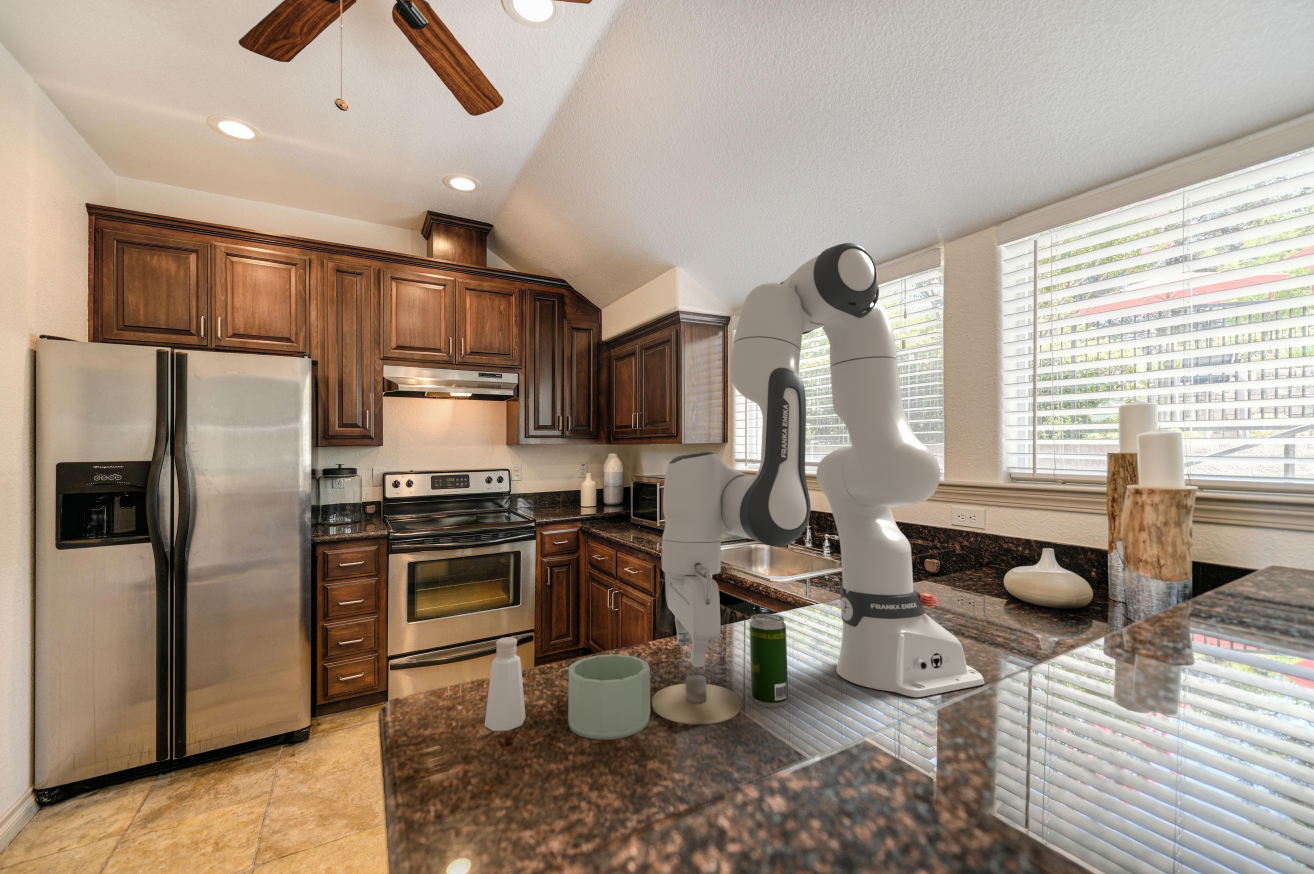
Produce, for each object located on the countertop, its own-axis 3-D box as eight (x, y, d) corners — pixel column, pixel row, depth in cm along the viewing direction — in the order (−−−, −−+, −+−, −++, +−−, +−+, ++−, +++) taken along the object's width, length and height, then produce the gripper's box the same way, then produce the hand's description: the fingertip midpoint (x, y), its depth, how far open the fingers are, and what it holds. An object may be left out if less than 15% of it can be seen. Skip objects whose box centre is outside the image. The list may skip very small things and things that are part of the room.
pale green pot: (643, 700, 78) (642, 652, 78) (655, 735, 67) (654, 678, 68) (568, 706, 76) (568, 657, 77) (568, 743, 65) (568, 685, 66)
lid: (725, 686, 84) (725, 661, 84) (753, 722, 71) (753, 692, 72) (646, 693, 82) (645, 666, 82) (660, 731, 69) (659, 699, 69)
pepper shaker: (509, 734, 68) (510, 647, 69) (475, 727, 70) (477, 643, 71) (533, 717, 73) (534, 635, 74) (501, 711, 75) (503, 632, 76)
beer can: (796, 701, 77) (793, 618, 78) (772, 711, 74) (770, 624, 75) (767, 690, 81) (764, 611, 82) (743, 699, 78) (741, 617, 79)
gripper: (732, 570, 69) (732, 679, 67) (695, 551, 89) (694, 635, 87) (685, 570, 68) (684, 681, 66) (659, 551, 88) (657, 636, 86)
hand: (690, 654), depth 77 cm, fingers open, 8 cm apart
